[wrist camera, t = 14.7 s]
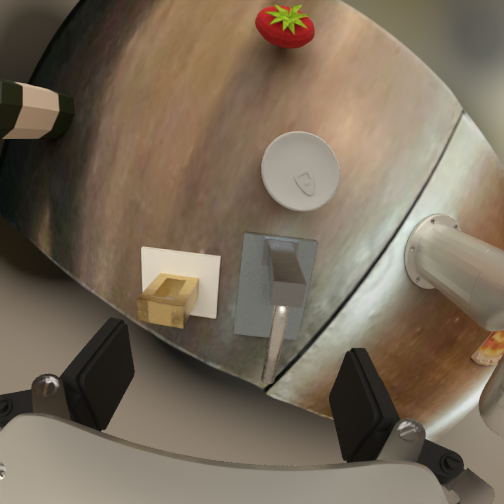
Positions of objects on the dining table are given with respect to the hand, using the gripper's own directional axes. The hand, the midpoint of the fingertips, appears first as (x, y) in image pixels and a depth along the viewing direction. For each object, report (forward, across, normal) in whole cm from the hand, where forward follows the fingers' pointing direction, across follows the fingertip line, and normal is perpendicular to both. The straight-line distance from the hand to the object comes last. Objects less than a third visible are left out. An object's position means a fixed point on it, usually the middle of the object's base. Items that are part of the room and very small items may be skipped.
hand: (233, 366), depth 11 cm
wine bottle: (+28, +35, -16) cm, 48 cm away
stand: (+28, -4, +9) cm, 30 cm away
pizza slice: (+29, -67, +18) cm, 75 cm away
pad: (+28, +10, +10) cm, 32 cm away
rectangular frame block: (+28, +10, +10) cm, 31 cm away
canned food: (+28, -4, -8) cm, 30 cm away
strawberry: (+28, -1, -27) cm, 39 cm away
